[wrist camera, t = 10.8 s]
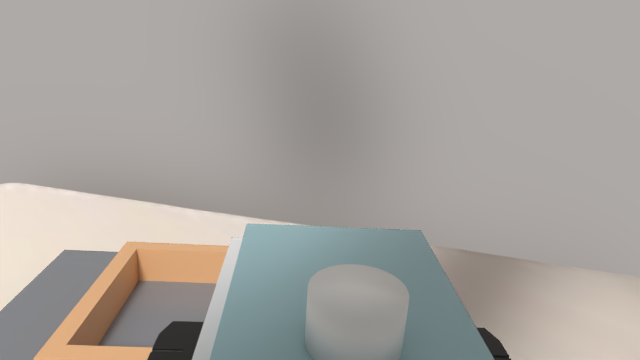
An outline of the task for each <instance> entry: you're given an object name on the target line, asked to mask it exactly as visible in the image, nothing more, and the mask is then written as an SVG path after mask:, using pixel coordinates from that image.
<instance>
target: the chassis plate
mask: <svg viewBox="0 0 640 360" xmlns="http://www.w3.org/2000/svg"><path fill="white" fill-rule="evenodd" d="M228 247H229V246H217V245H193V244H170V243H147V242H126V244H125V245H124V246H123V247H122V249H121V250H120V251H119V252H104V251H80V250H64V251H63V252H62V253H61V254H60V255H59V256H58V257H57V258H56V259H55V260H54V261H52V262H51V263H50V264H49V265H48V266H47V267H46V268H45V269H44V270H43V271H42V272H41V273H40V274H39V275H38V276H37V277H36V278H35V279H34V280H33V281H32V282H30V283H29V284H28V285H27V286H26V287H25V288H24V289H23V290H22V291H21V292H20V293H19V294H18V295H17V296H16V297H15V298H14V299H13V300H12V301H11V302H10V303H8V304H7V305H6V306H5V307H4V308H3V309H2V310H1V311H0V360H147V359H148V357H149V354H150V352H152V348H153V346H154V343H155V341H156V339H157V337H158V335H159V333H160V332H161V331H163V330H164V329H165V328H166V327H167V326H168V325H169V324H170V323H171V322H173V321H193V322H204V321H205V318H206V315H207V311H208V308H209V305H210V302H211V299H212V296H213V293H214V290H215V287H216V284H217V281H218V278H219V275H220V272H221V269H222V265H223V262H224V259H225V256H226V253H227V250H228Z"/></svg>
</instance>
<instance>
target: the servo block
mask: <svg viewBox="0 0 640 360" xmlns="http://www.w3.org/2000/svg"><path fill="white" fill-rule="evenodd" d="M210 360H494V358H493V356H492V354H491V353H490V351H489V349H488V347H487V346H486V344H485V342H484V340H483V339H482V337H481V335H480V333H479V332H478V330H477V328H476V326H475V325H474V323H473V321H472V319H471V318H470V316H469V314H468V312H467V311H466V309H465V307H464V305H463V304H462V302H461V300H460V298H459V297H458V295H457V293H456V291H455V289H454V288H453V286H452V284H451V282H450V281H449V279H448V277H447V275H446V274H445V272H444V270H443V268H442V267H441V265H440V263H439V261H438V260H437V258H436V256H435V254H434V253H433V251H432V249H431V247H430V246H429V244H428V242H427V240H426V239H425V237H424V235H423V234H422V232H421V230H400V229H374V228H348V227H322V226H297V225H271V224H247V225H246V228H245V232H244V236H243V239H242V243H241V247H240V250H239V254H238V258H237V261H236V265H235V269H234V272H233V276H232V280H231V283H230V287H229V290H228V294H227V298H226V301H225V305H224V309H223V312H222V316H221V320H220V323H219V327H218V331H217V334H216V338H215V342H214V345H213V349H212V353H211V356H210Z"/></svg>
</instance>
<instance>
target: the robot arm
mask: <svg viewBox="0 0 640 360" xmlns="http://www.w3.org/2000/svg"><path fill="white" fill-rule="evenodd" d="M242 239H243V238H233V237H232V238H231V241H230V244H229V247H228V250H227V253H226V256H225V259H224V262H223V265H222V269H221V272H220V275H219V278H218V281H217V284H216V287H215V290H214V293H213V296H212V299H211V302H210V305H209V308H208V311H207V315H206V318H205V321H204V322H193V321H173V322H171V323H170V324H169V325H168V326H167V327H166V328H165V329H164V330H163V331H161V332H160V333H159V335H158V337H157V339H156V341H155V343H154V346H153V348H152V352H150V354H149V357H148V359H147V360H210V356H211V353H212V349H213V345H214V342H215V338H216V334H217V331H218V327H219V323H220V320H221V316H222V312H223V309H224V305H225V301H226V298H227V294H228V290H229V287H230V283H231V280H232V276H233V272H234V269H235V265H236V261H237V258H238V254H239V250H240V247H241V243H242ZM477 330H478V332H479V333H480V335H481V337H482V339H483V340H484V342H485V344H486V346H487V347H488V349H489V351H490V353H491V354H492V356H493V358H494V360H511V359H509V355H508V354H507V352H506V350H505V349H504V347H503V345H502V344H501V342H500V341H499V340H498V339H497V338H496V337H494V336H493V335H492V334H491V333H490V332H488V331H487V330H486V329H485V328H477Z"/></svg>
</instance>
